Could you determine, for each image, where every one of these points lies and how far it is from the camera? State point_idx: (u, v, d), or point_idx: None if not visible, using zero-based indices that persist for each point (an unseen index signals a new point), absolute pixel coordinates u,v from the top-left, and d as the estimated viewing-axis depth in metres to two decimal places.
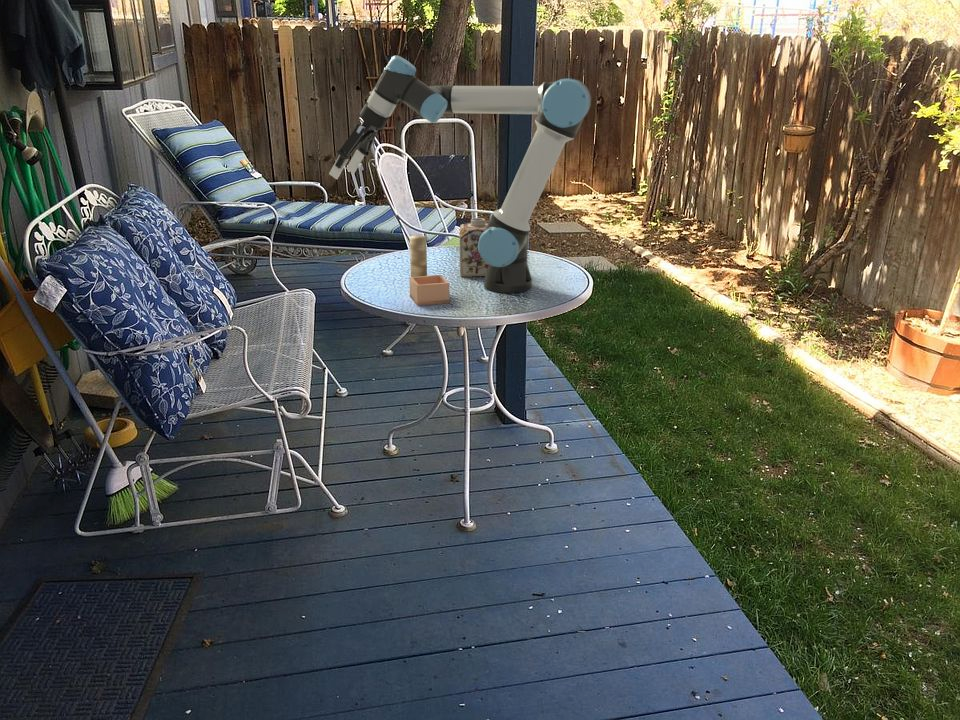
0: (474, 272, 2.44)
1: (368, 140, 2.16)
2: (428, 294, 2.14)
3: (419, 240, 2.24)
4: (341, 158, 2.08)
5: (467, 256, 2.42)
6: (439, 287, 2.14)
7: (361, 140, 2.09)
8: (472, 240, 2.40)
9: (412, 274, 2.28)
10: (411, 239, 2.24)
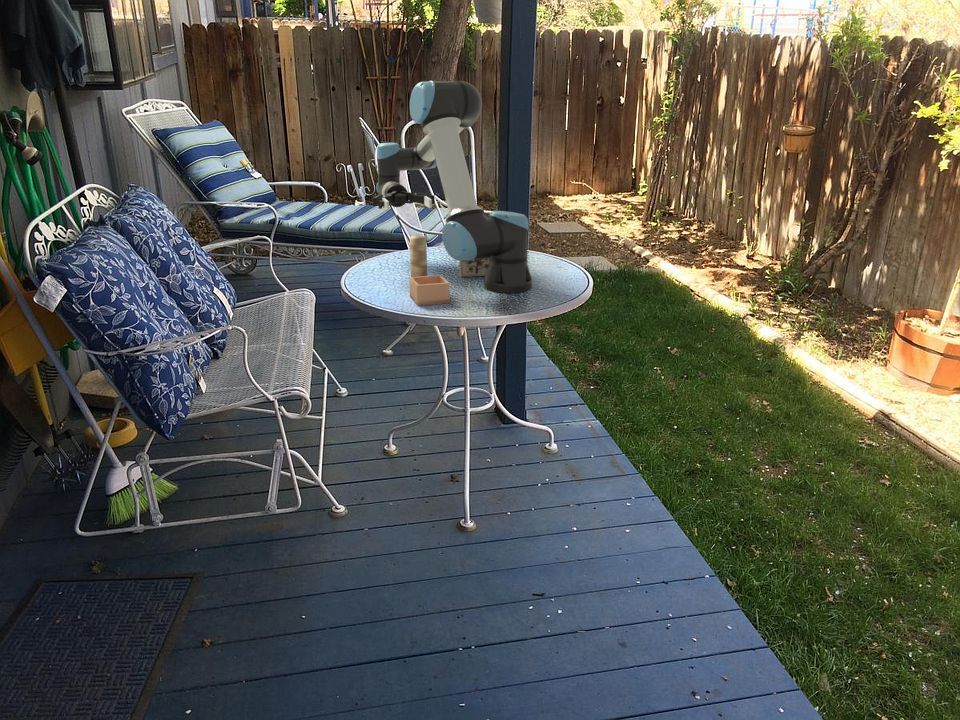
0: (474, 272, 2.44)
1: (409, 194, 2.43)
2: (428, 294, 2.14)
3: (419, 240, 2.24)
4: (378, 202, 2.35)
5: None
6: (439, 287, 2.14)
7: None
8: None
9: (412, 274, 2.28)
10: (411, 239, 2.24)
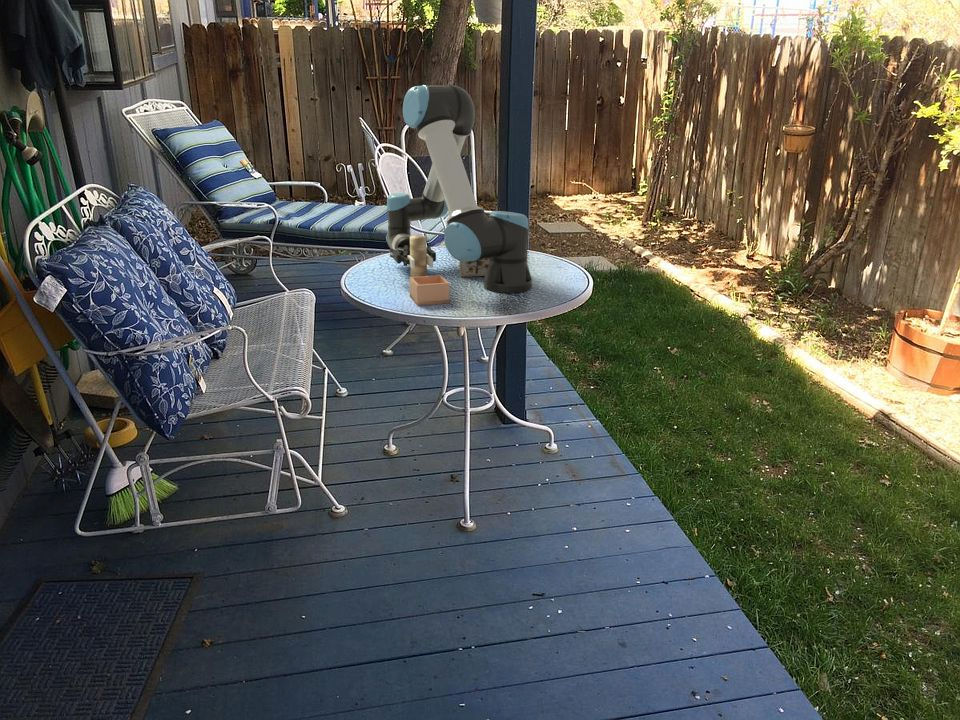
0: (474, 272, 2.44)
1: None
2: (428, 294, 2.14)
3: (419, 240, 2.24)
4: (403, 260, 2.28)
5: None
6: (439, 287, 2.14)
7: (403, 250, 2.34)
8: None
9: (412, 274, 2.28)
10: (411, 239, 2.24)
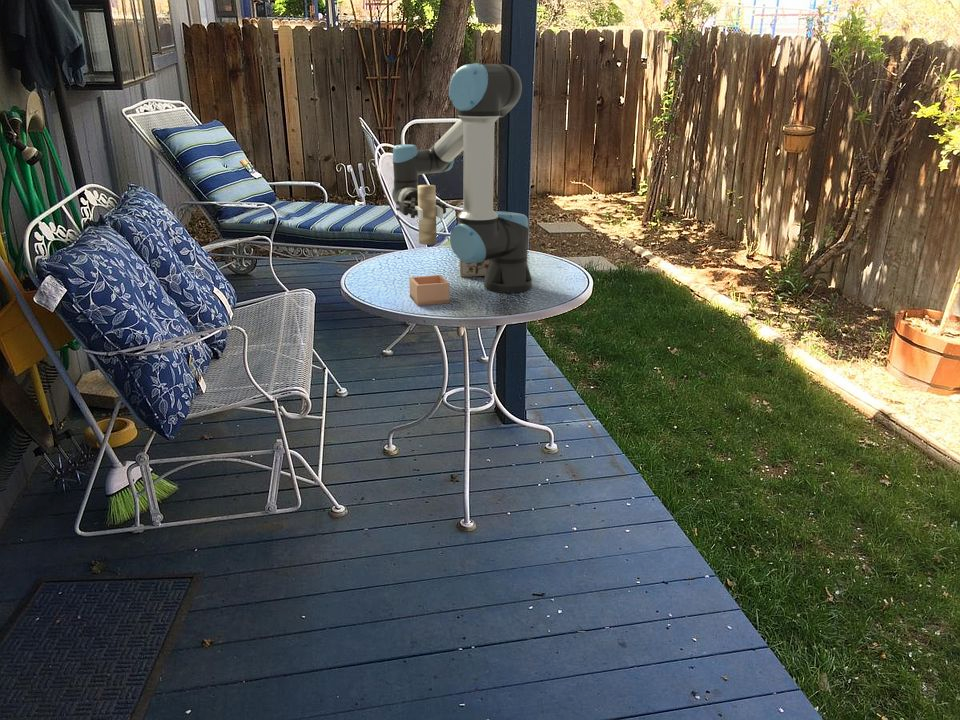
0: (474, 272, 2.44)
1: None
2: (428, 294, 2.14)
3: (428, 189, 2.06)
4: (411, 211, 2.10)
5: None
6: (439, 287, 2.14)
7: (411, 202, 2.17)
8: None
9: (420, 227, 2.11)
10: (419, 188, 2.07)
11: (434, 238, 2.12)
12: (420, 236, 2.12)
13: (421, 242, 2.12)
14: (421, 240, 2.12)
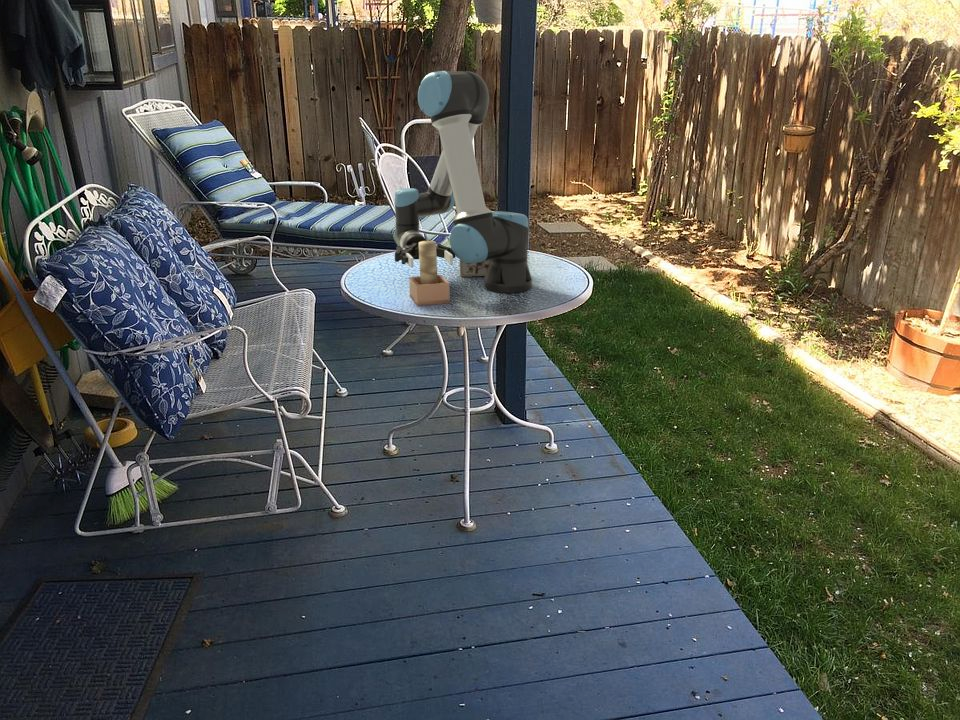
0: (474, 272, 2.44)
1: None
2: (428, 294, 2.14)
3: (428, 246, 2.12)
4: (402, 258, 2.15)
5: None
6: (439, 287, 2.14)
7: None
8: None
9: (422, 282, 2.16)
10: (420, 245, 2.12)
11: None
12: None
13: None
14: None
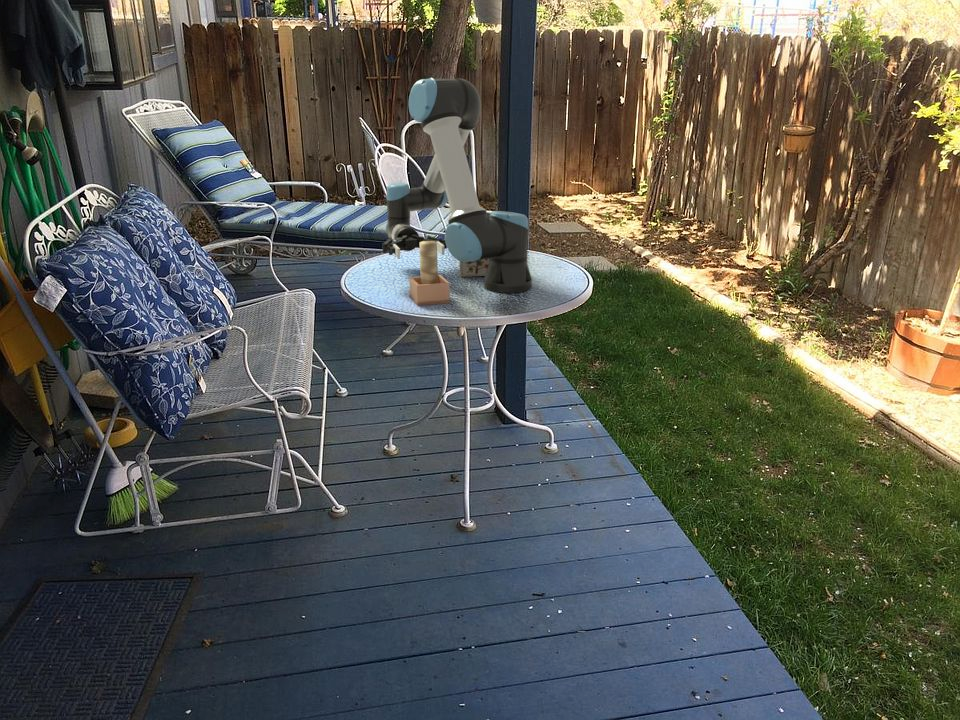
0: (474, 272, 2.44)
1: (421, 239, 2.33)
2: (428, 294, 2.14)
3: (430, 246, 2.12)
4: (389, 249, 2.26)
5: None
6: (439, 287, 2.14)
7: None
8: None
9: (422, 282, 2.16)
10: (421, 245, 2.12)
11: None
12: None
13: None
14: None
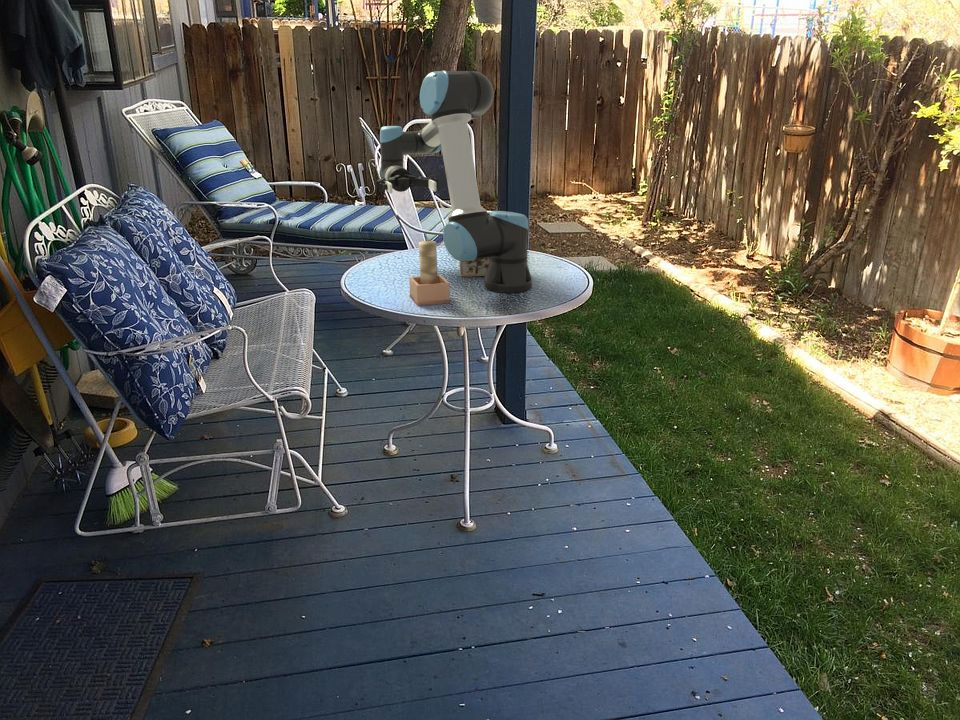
0: (474, 272, 2.44)
1: (413, 178, 2.36)
2: (428, 294, 2.14)
3: (429, 246, 2.11)
4: (381, 186, 2.28)
5: None
6: (439, 287, 2.14)
7: None
8: None
9: (422, 282, 2.16)
10: (421, 245, 2.12)
11: None
12: None
13: None
14: None
